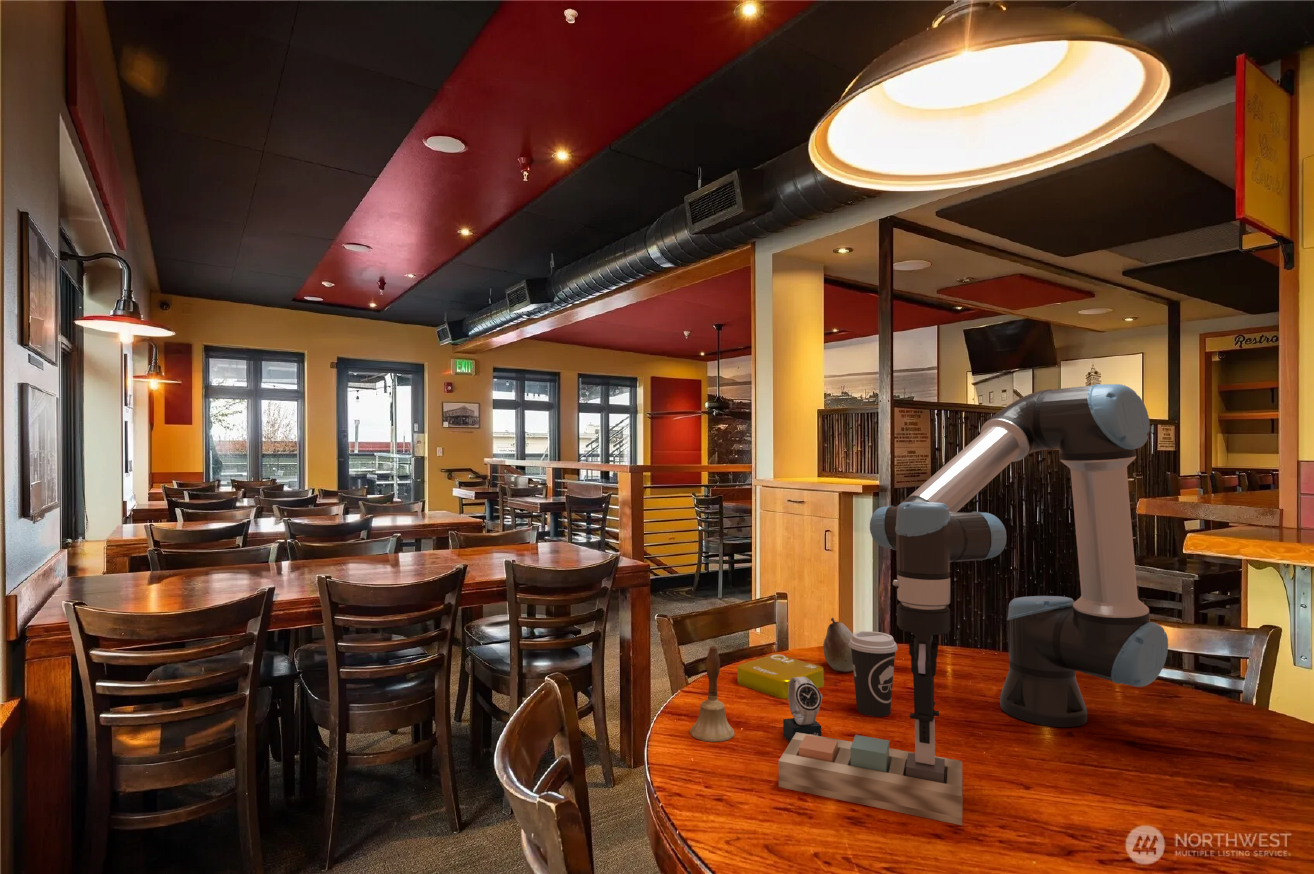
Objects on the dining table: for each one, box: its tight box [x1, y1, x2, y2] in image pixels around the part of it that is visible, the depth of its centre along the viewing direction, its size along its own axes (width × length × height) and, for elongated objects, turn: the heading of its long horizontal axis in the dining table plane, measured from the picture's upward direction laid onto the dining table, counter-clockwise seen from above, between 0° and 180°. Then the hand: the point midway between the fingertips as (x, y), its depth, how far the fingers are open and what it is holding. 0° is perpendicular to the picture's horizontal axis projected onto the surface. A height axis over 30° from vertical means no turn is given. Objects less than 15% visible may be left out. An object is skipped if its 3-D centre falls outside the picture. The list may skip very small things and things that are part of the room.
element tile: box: [736, 653, 825, 700], centre depth 151 cm, size 15×15×5 cm
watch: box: [782, 677, 824, 744], centre depth 121 cm, size 6×8×11 cm
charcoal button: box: [906, 753, 945, 783], centre depth 100 cm, size 5×5×4 cm
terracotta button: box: [799, 735, 838, 763], centre depth 107 cm, size 5×5×4 cm
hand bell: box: [689, 645, 735, 743], centre depth 124 cm, size 8×8×16 cm
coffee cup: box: [848, 630, 899, 718], centre depth 135 cm, size 10×10×15 cm
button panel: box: [778, 732, 964, 826], centre depth 104 cm, size 26×12×4 cm, turn 65°
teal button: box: [850, 734, 891, 773], centre depth 104 cm, size 5×5×4 cm
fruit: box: [822, 617, 854, 673], centre depth 162 cm, size 10×9×12 cm
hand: (925, 761), depth 100 cm, fingers closed
